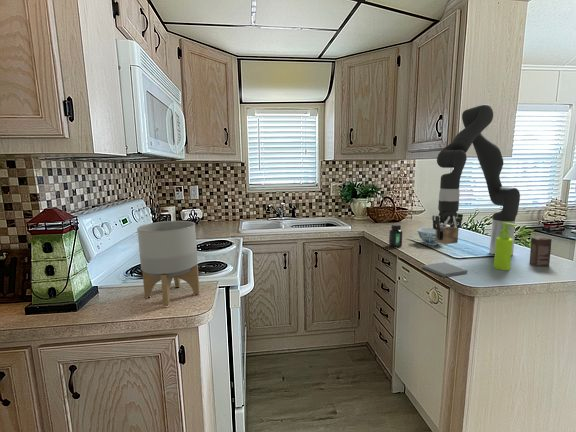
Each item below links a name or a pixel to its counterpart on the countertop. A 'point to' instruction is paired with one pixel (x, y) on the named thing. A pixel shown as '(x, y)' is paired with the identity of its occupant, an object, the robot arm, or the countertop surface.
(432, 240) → the chinaware
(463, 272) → the slate tile
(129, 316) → the countertop surface
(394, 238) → the supplement bottle
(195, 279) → the planter
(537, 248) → the box
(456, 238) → the walnut cube
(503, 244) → the soap dispenser
